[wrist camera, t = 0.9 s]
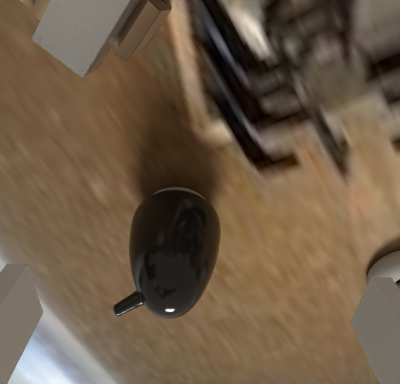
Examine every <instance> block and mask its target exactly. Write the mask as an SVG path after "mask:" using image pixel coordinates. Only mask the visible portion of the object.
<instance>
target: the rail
mask: <svg viewBox="0 0 400 384" xmlns="http://www.w3.org/2000/svg"><path fill="white" fill-rule="evenodd" d="M140 1H141V0H51V1H50V3H49V5H48V7H47V9H46V11H45V13H44V15H43V17H42V19H41V21H40V23H39V25H38V27H37V29H36V31H35V33H34V35H33V37H32V40H33V41H34V42H36V43H37V44H38V45H40V46H41V47H42V48H44V49H45V50H46V51H48V52H49V53H50V54H52V55H53V56H54V57H56V58H57V59H58V60H59V61H61V62H62V63H63V64H65V65H66V66H67V67H69V68H70V69H71V70H73V71H74V72H75V73H77V74H78V75H79V76H81V77H82V78H84V77H85V76H87V75H88V74H90V73H92V72H93V71H95V70H96V69H98V68H99V66H100V65H101V63H102V62H103V60H104V58H105V57H106V55H107V54H108V52H109V50H110V49H111V47H112V46H113V44H114V42H115V41H116V39H117V38H118V36H119V34H120V33H121V31H122V30H123V28H124V26H125V25H126V23H127V22H128V20H129V18H130V17H131V15H132V14H133V12H134V10H135V9H136V7H137V5H138V4H139V2H140Z"/></svg>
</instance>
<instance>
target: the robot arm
mask: <svg viewBox="0 0 400 384" xmlns="http://www.w3.org/2000/svg"><path fill="white" fill-rule="evenodd" d="M42 314H43V310H42V307H41V304H40V301H39V298H38V295H37V292H36V289H35V286H34V283H33V280H32V277H31V274H30V271H29V268H28V265H22V264H7V265H6V266H5V267H4V269H3V270H2V271H1V273H0V384H7V383H8V381H9V379H10V377H11V375H12V373H13V371H14V369H15V367H16V365H17V363H18V361H19V359H20V357H21V355H22V353H23V351H24V349H25V347H26V345H27V344H28V342H29V340H30V338H31V336H32V334H33V332H34V330H35V328H36V326H37V324H38V322H39V320H40V318H41V316H42ZM350 323H351V325H352V327H353V329H354V331H355V333H356V335H357V337H358V340H359V342H360V344H361V346H362V348H363V350H364V352H365V354H366V357H367V359H368V361H369V363H370V365H371V367H372V369H373V371H374V374H375V376H376V378H377V380H378V382H379V384H400V289H399V288H398V286H397V285H396V284H395V282H394V281H393V279H392V278H390V277H371V279H370V282H369V284H368V286H367V288H366V290H365V292H364V294H363V296H362V299H361V301H360V303H359V305H358V307H357V309H356V311H355V314H354V316H353V318H352V320H351V322H350Z"/></svg>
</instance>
